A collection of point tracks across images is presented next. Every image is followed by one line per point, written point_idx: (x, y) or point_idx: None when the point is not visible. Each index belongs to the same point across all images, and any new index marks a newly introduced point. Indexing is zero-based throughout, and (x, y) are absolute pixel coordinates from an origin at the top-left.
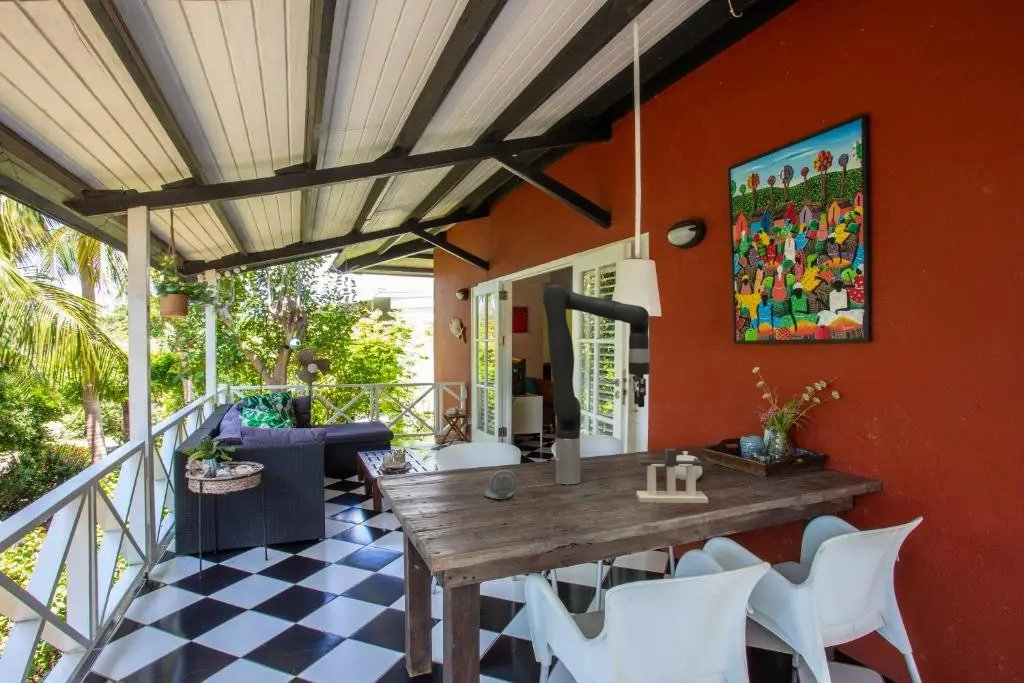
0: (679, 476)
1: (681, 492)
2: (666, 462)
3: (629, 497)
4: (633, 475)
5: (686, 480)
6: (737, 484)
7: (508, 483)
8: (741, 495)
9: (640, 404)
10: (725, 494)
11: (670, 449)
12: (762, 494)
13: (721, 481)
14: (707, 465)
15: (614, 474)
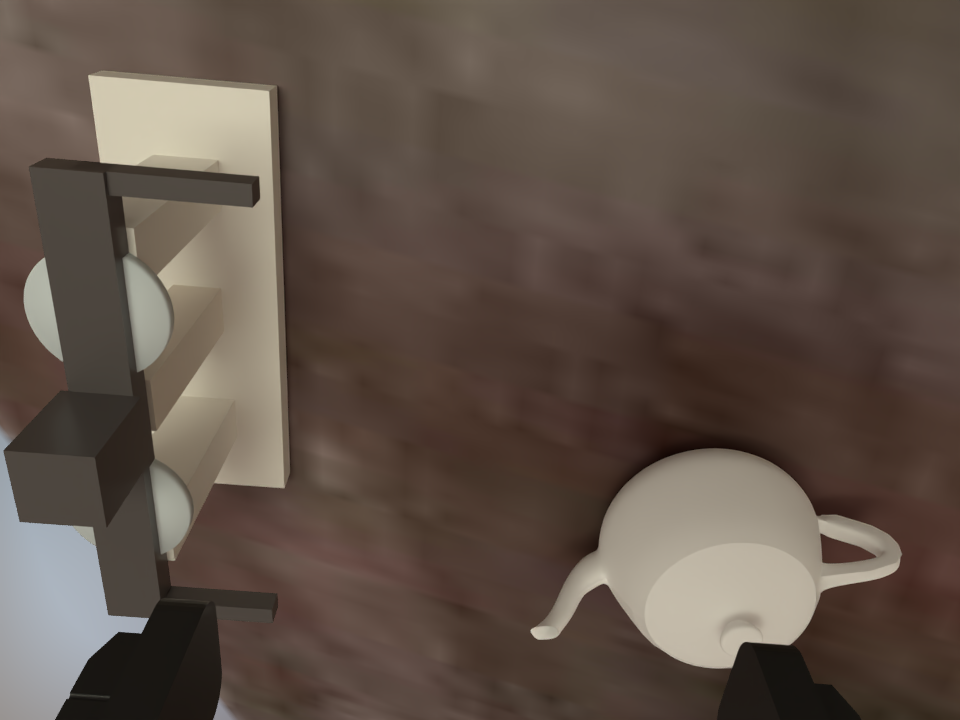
0: (633, 477)
1: (253, 380)
2: (70, 385)
3: (220, 16)
4: (830, 201)
5: (195, 446)
6: (509, 689)
7: None
8: (308, 640)
9: (96, 673)
10: (323, 585)
11: (65, 490)
12: (329, 717)
13: (575, 647)
14: (934, 694)
15: (907, 46)
